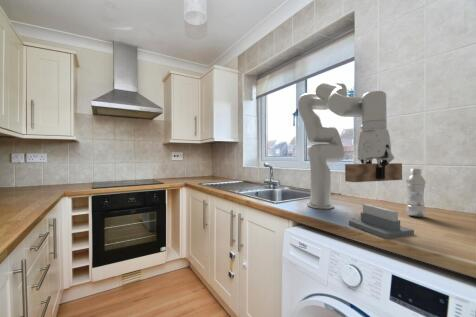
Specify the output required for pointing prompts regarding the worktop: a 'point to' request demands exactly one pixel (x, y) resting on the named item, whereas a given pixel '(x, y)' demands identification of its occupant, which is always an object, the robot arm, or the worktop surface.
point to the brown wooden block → (371, 172)
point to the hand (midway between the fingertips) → (374, 177)
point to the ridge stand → (381, 222)
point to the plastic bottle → (415, 194)
